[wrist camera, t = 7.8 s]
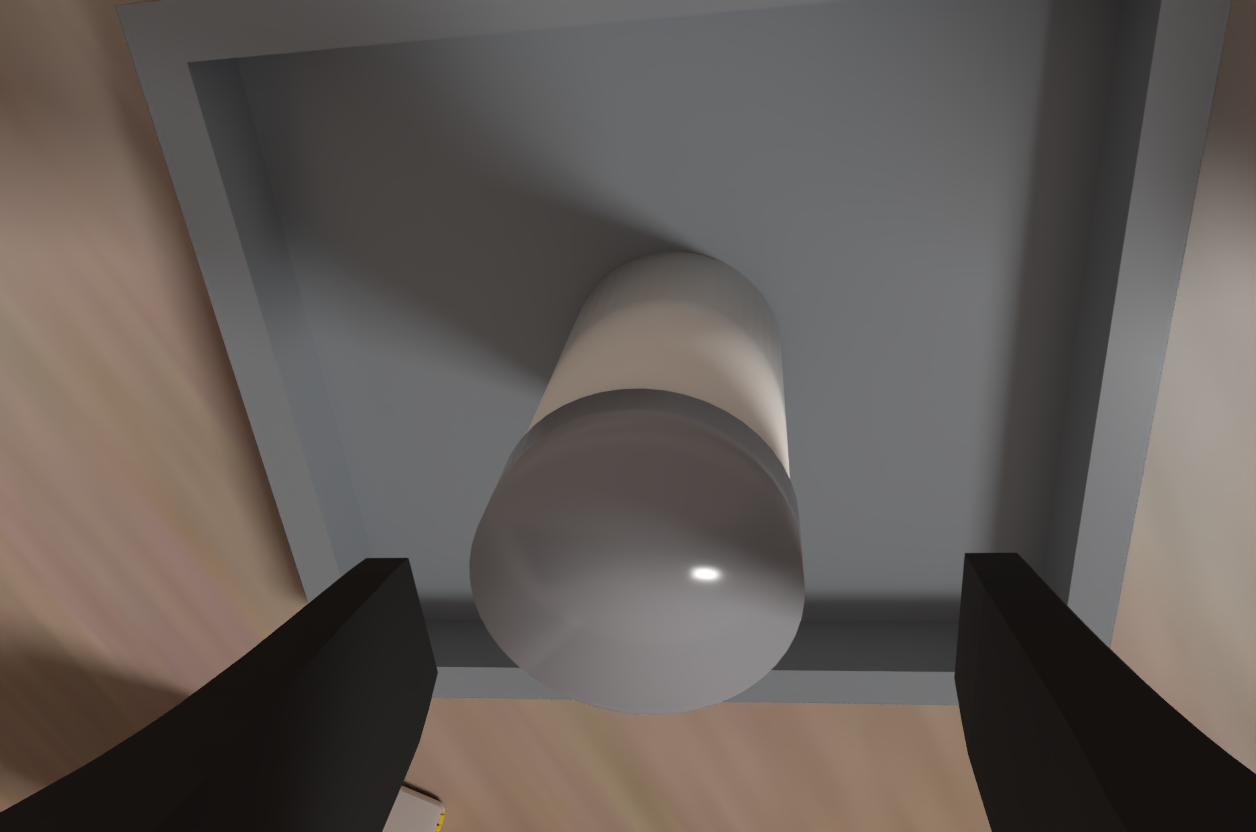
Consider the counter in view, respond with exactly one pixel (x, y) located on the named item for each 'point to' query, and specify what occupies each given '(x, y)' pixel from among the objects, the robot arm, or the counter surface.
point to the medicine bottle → (414, 813)
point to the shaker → (650, 500)
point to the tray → (717, 228)
